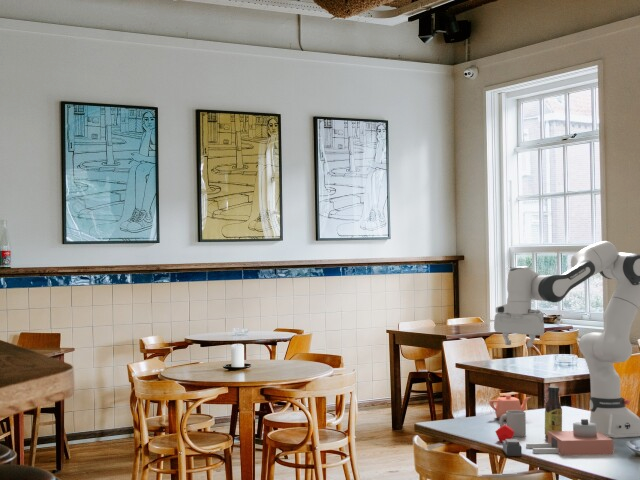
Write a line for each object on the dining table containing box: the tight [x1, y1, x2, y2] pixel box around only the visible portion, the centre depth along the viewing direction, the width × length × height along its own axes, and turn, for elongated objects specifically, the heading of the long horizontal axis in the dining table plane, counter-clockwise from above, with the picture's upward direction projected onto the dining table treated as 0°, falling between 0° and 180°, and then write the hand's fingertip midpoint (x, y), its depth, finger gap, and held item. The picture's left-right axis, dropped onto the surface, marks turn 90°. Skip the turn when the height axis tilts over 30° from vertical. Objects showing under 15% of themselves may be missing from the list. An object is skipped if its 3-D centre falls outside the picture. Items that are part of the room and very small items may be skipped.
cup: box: [498, 410, 527, 438], centre depth 319 cm, size 7×10×9 cm
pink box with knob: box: [525, 418, 614, 456], centre depth 292 cm, size 27×16×11 cm, turn 92°
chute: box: [502, 438, 523, 457], centre depth 289 cm, size 9×5×5 cm, turn 177°
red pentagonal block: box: [495, 424, 514, 444], centre depth 307 cm, size 7×7×8 cm
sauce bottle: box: [544, 385, 563, 441], centre depth 310 cm, size 7×6×20 cm
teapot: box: [488, 394, 532, 422], centre depth 351 cm, size 12×18×10 cm, turn 90°
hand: (518, 346), depth 307 cm, fingers open, 8 cm apart
